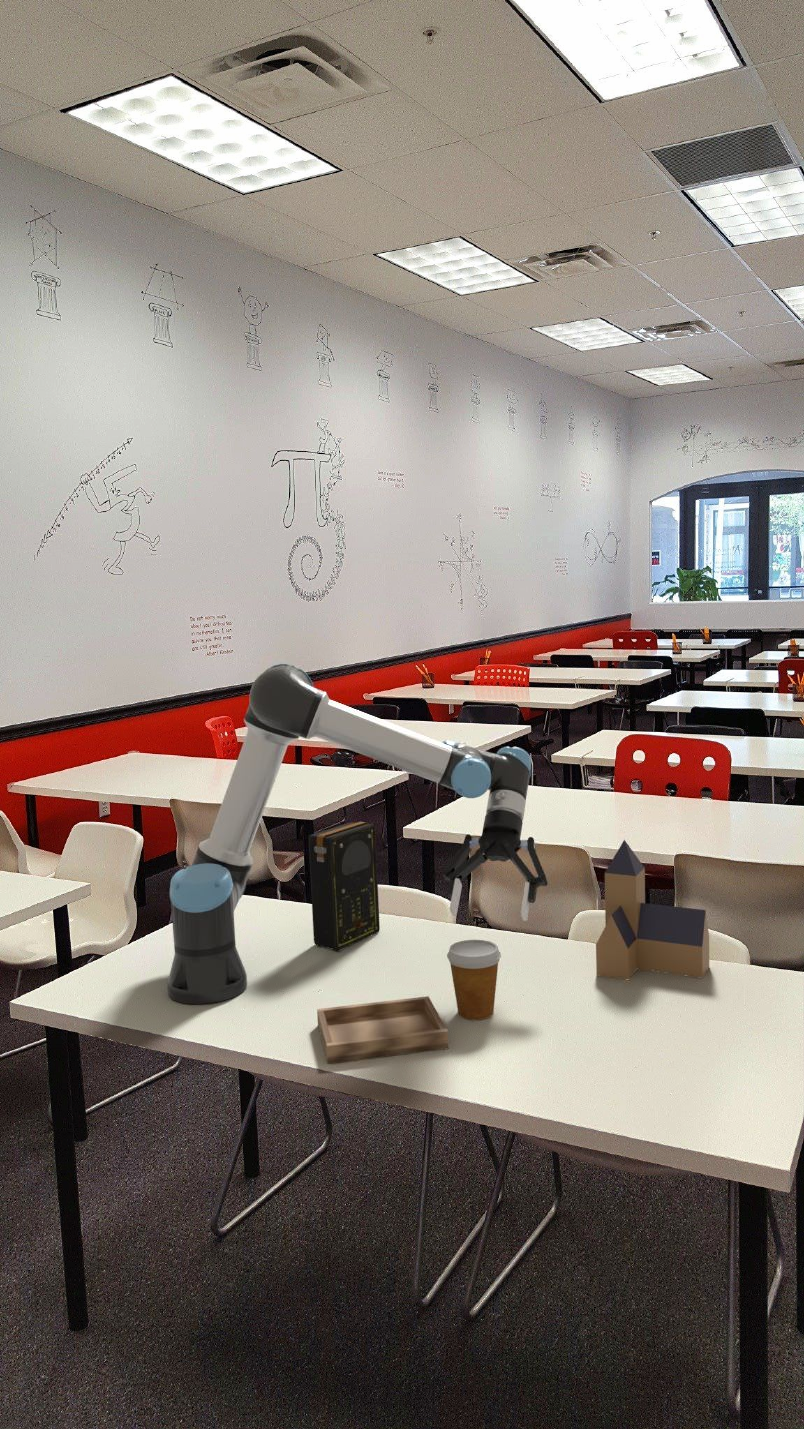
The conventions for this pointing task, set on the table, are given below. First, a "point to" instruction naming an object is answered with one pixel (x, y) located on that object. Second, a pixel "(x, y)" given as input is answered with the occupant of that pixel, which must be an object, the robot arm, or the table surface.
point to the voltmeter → (344, 885)
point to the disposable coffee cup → (474, 977)
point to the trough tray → (381, 1029)
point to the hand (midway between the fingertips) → (487, 915)
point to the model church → (647, 927)
